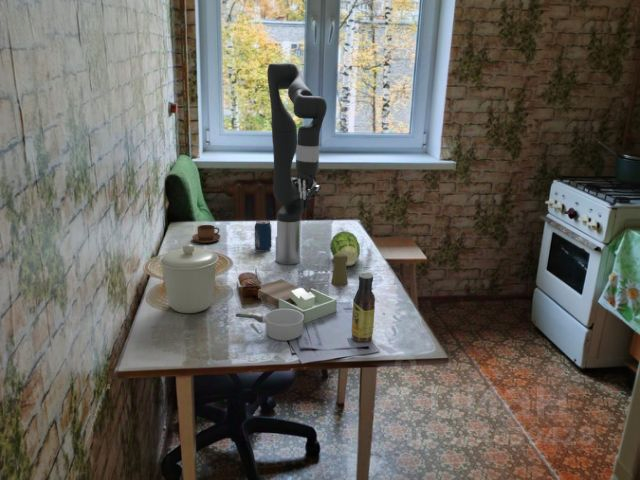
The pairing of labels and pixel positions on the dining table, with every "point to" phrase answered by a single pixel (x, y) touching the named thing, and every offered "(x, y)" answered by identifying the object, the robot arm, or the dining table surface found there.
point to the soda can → (263, 235)
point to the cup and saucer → (206, 234)
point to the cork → (340, 270)
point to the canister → (189, 278)
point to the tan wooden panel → (277, 292)
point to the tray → (314, 306)
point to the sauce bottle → (363, 309)
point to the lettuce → (346, 246)
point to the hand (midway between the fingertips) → (304, 209)
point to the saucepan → (280, 323)
